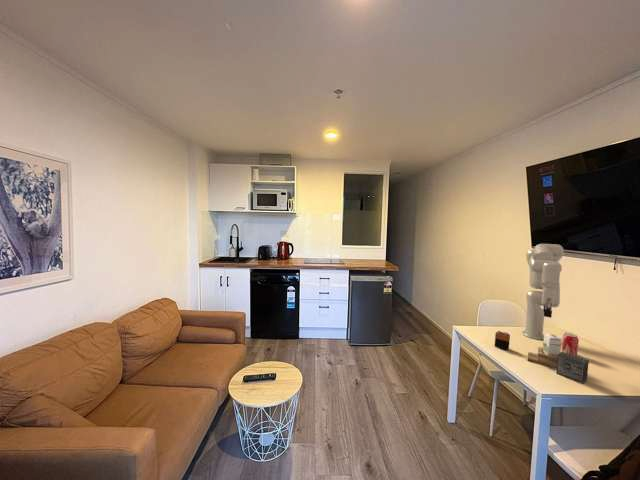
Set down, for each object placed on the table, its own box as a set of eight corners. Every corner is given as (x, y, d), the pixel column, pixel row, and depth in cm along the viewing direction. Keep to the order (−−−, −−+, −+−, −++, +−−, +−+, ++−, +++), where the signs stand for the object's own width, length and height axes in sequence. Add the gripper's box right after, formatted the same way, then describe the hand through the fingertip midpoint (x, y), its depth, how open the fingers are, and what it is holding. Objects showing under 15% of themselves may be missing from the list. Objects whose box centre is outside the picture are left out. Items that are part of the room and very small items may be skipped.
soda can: (560, 350, 166) (562, 331, 165) (575, 353, 162) (577, 334, 161) (562, 354, 160) (563, 335, 159) (578, 358, 156) (580, 338, 155)
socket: (528, 353, 160) (528, 344, 160) (574, 365, 148) (574, 355, 147) (527, 360, 152) (528, 351, 151) (576, 374, 139) (577, 363, 139)
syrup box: (560, 364, 146) (562, 338, 145) (547, 362, 148) (549, 337, 147) (553, 359, 152) (556, 334, 151) (541, 357, 153) (543, 333, 152)
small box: (587, 380, 134) (589, 359, 133) (583, 384, 131) (585, 363, 130) (560, 370, 143) (562, 350, 142) (555, 373, 139) (557, 354, 139)
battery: (507, 350, 163) (508, 334, 163) (494, 346, 168) (495, 331, 168) (509, 348, 166) (510, 332, 166) (496, 344, 171) (497, 329, 171)
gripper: (540, 281, 160) (538, 309, 161) (541, 286, 146) (538, 317, 148) (557, 283, 155) (554, 312, 157) (560, 289, 142) (557, 320, 143)
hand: (547, 314), depth 152 cm, fingers open, 9 cm apart
